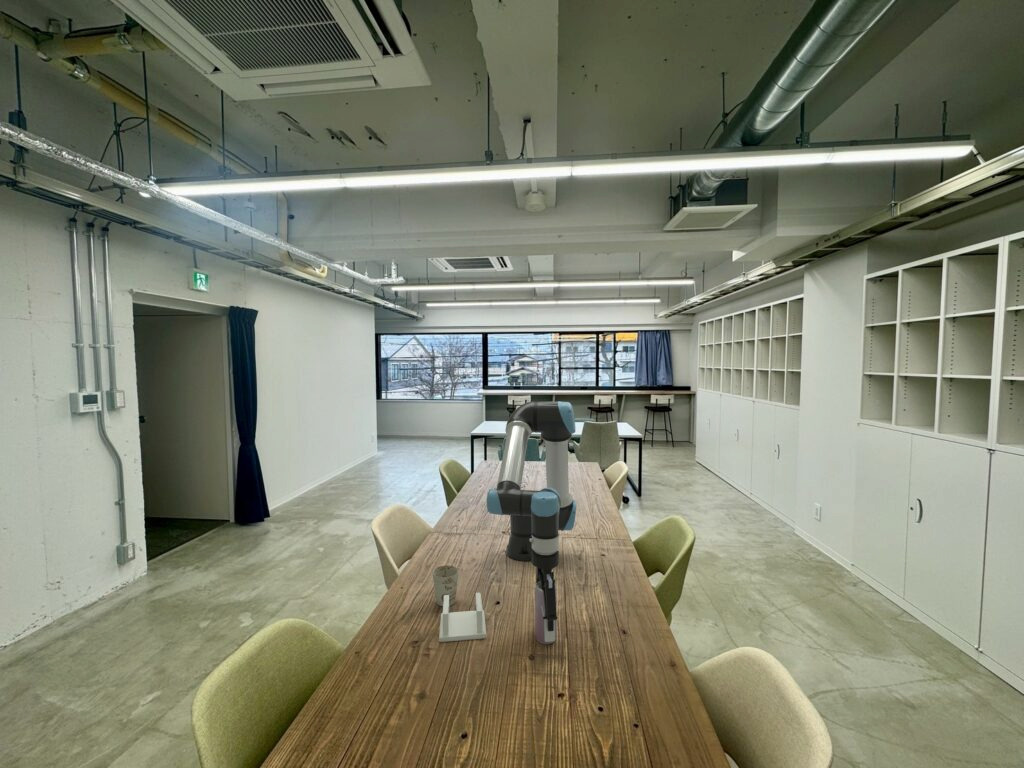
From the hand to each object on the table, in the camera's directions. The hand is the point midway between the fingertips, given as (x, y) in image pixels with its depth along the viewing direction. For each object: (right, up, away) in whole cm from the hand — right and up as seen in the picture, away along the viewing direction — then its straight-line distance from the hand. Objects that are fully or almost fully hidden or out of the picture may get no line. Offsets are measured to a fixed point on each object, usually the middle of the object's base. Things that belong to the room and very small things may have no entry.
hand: (545, 628), depth 118 cm
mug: (-31, -3, +22) cm, 38 cm away
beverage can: (0, -3, 0) cm, 3 cm away
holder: (-24, -3, +6) cm, 25 cm away
